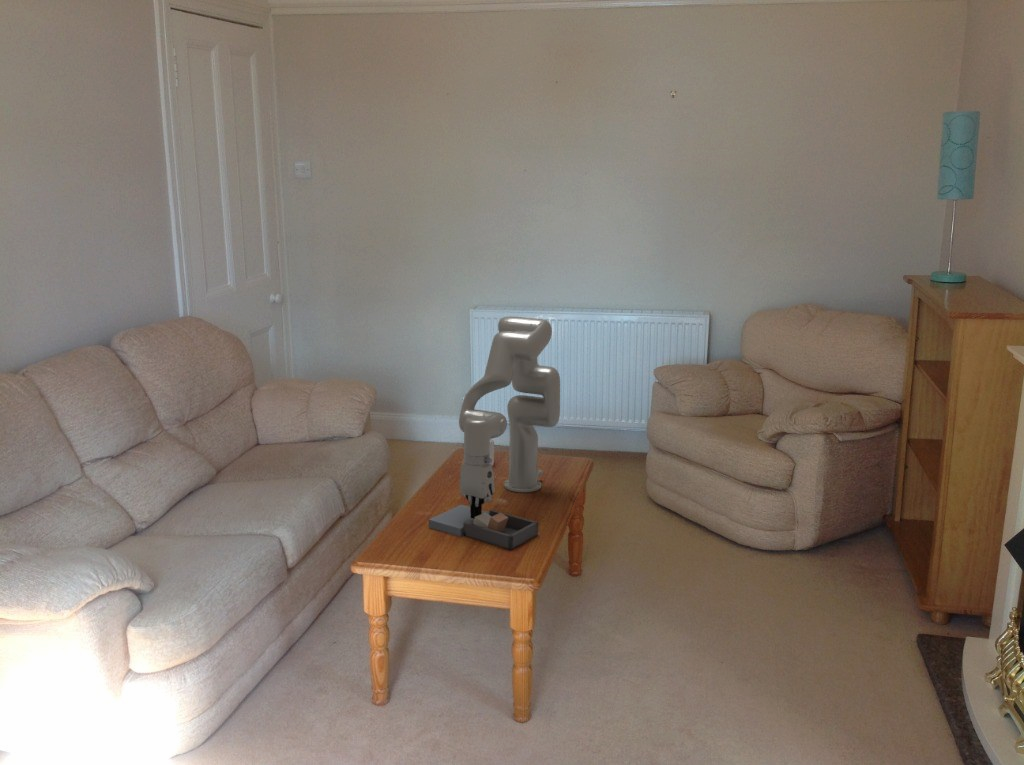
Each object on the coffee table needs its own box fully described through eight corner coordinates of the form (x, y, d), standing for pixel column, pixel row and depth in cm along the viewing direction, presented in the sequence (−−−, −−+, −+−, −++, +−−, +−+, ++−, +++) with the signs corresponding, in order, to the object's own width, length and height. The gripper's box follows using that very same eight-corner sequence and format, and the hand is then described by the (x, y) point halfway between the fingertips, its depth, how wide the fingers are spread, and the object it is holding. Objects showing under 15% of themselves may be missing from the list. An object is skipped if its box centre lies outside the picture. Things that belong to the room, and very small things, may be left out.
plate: (461, 512, 302) (461, 504, 301) (492, 520, 295) (492, 513, 294) (428, 527, 289) (428, 519, 288) (460, 536, 282) (460, 528, 282)
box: (491, 521, 294) (491, 509, 293) (537, 535, 285) (538, 522, 284) (463, 535, 283) (463, 523, 282) (510, 550, 273) (511, 536, 273)
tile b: (500, 512, 285) (508, 517, 284) (496, 526, 287) (503, 531, 286) (490, 517, 281) (498, 522, 280) (486, 531, 283) (494, 536, 282)
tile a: (482, 520, 290) (485, 512, 289) (495, 528, 287) (497, 520, 286) (472, 525, 286) (475, 516, 285) (485, 533, 283) (487, 525, 282)
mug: (492, 469, 344) (492, 444, 341) (466, 467, 344) (467, 442, 342) (496, 458, 355) (496, 434, 353) (471, 457, 356) (471, 433, 354)
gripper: (504, 460, 283) (503, 519, 287) (464, 451, 291) (463, 508, 295) (489, 467, 277) (488, 527, 281) (448, 457, 285) (448, 515, 289)
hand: (475, 517), depth 288 cm, fingers closed
